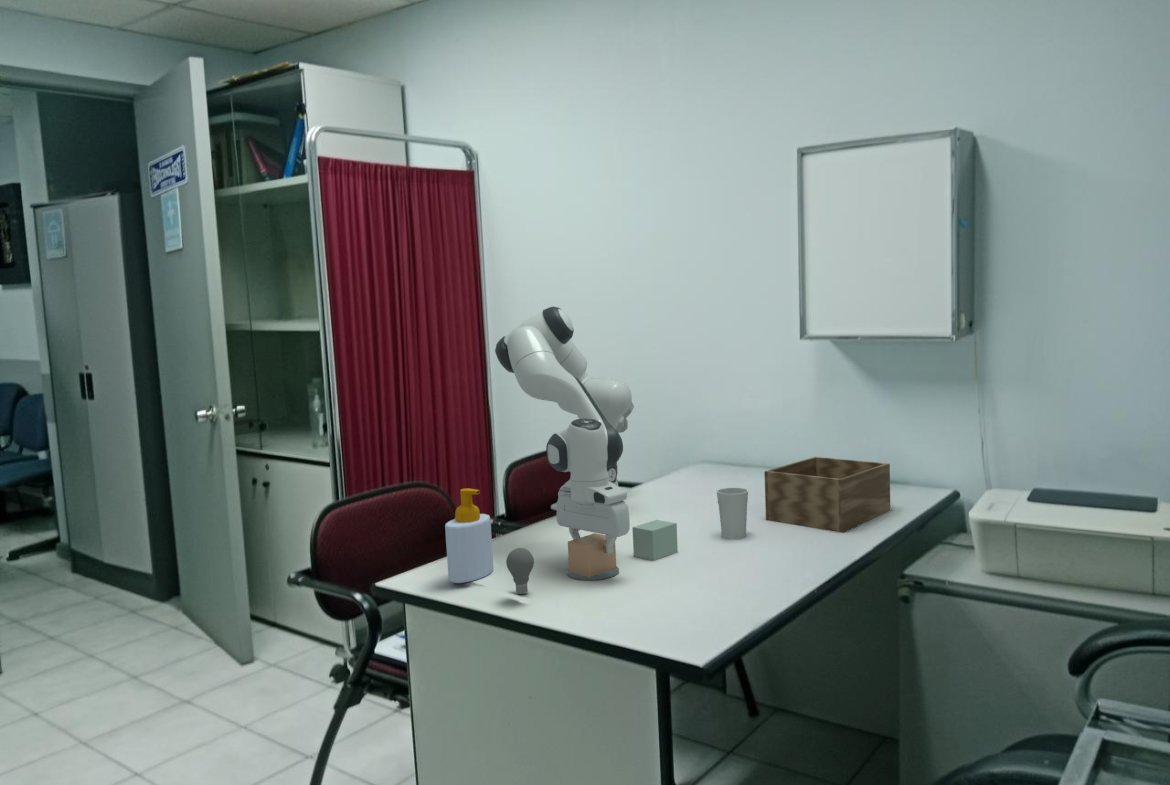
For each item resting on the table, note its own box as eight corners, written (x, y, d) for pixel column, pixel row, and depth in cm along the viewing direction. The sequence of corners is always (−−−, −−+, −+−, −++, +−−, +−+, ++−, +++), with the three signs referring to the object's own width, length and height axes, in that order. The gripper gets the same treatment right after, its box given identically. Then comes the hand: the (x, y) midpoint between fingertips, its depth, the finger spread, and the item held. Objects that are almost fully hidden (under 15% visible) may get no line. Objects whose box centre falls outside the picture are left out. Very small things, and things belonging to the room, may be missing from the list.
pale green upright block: (633, 556, 223) (632, 527, 222) (657, 548, 229) (656, 519, 228) (653, 560, 218) (652, 530, 218) (677, 552, 225) (676, 523, 224)
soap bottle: (466, 585, 206) (461, 496, 204) (439, 581, 210) (433, 494, 208) (502, 569, 217) (497, 485, 215) (475, 565, 221) (470, 483, 220)
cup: (749, 540, 232) (747, 493, 231) (717, 540, 233) (715, 494, 232) (750, 532, 240) (748, 487, 238) (719, 532, 241) (717, 487, 240)
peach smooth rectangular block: (569, 572, 210) (567, 541, 209) (596, 563, 216) (594, 533, 216) (589, 577, 206) (587, 545, 205) (616, 567, 212) (614, 537, 211)
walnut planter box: (765, 522, 250) (764, 471, 248) (815, 504, 268) (814, 456, 267) (842, 534, 233) (841, 480, 232) (890, 514, 252) (889, 463, 250)
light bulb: (508, 590, 201) (505, 545, 200) (535, 588, 202) (532, 543, 201) (508, 599, 195) (505, 553, 194) (536, 596, 196) (533, 550, 195)
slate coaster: (556, 574, 211) (555, 572, 211) (592, 562, 219) (592, 559, 219) (593, 583, 203) (593, 581, 203) (629, 570, 211) (629, 568, 211)
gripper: (548, 488, 214) (552, 546, 216) (613, 498, 200) (616, 560, 201) (567, 483, 219) (571, 539, 220) (632, 492, 205) (635, 553, 206)
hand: (593, 549), depth 211 cm, fingers open, 8 cm apart
